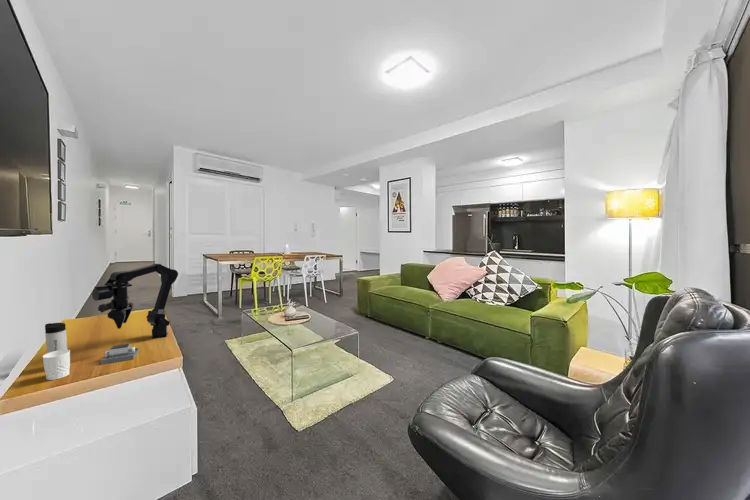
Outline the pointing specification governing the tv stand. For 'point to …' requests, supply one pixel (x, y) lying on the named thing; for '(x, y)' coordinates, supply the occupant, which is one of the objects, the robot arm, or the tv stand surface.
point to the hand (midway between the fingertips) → (122, 325)
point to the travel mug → (55, 337)
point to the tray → (117, 359)
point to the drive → (119, 350)
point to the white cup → (57, 364)
